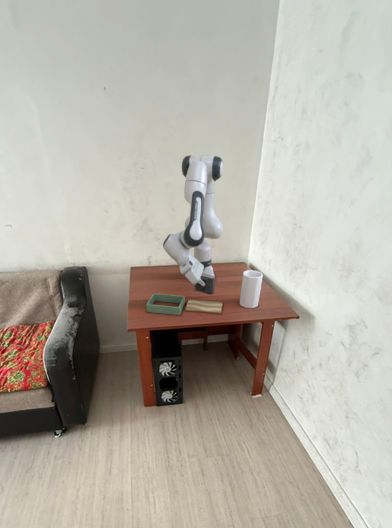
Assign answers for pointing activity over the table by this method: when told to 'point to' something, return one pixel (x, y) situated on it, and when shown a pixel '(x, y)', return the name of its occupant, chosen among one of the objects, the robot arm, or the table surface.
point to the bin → (165, 309)
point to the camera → (208, 286)
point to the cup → (250, 288)
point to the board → (204, 306)
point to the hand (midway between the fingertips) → (205, 282)
